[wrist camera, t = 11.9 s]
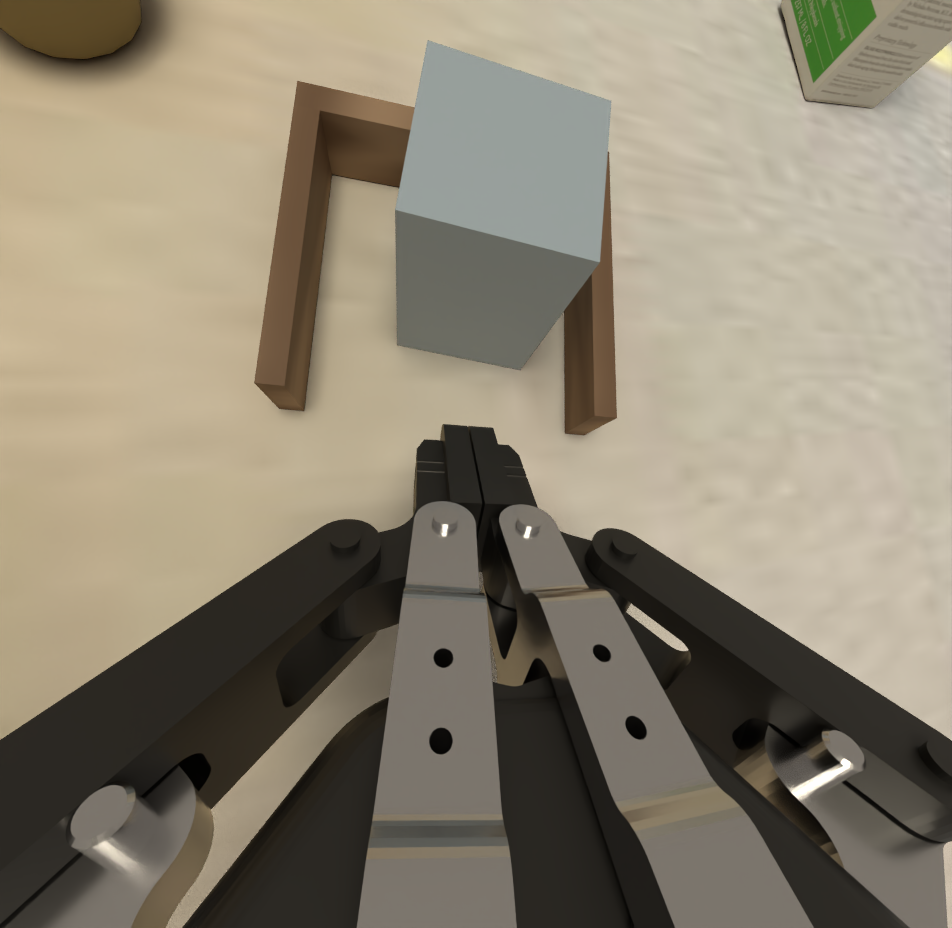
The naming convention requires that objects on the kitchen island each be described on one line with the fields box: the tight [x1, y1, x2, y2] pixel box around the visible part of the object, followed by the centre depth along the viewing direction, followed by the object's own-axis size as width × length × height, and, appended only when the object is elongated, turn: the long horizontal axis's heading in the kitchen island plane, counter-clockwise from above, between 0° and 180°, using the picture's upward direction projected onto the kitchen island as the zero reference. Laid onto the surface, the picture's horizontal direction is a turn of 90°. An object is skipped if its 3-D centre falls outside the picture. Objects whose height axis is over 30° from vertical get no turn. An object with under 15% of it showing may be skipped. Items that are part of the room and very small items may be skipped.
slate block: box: [395, 40, 611, 370], centre depth 16 cm, size 6×6×8 cm
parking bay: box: [254, 81, 617, 435], centre depth 18 cm, size 14×13×3 cm
